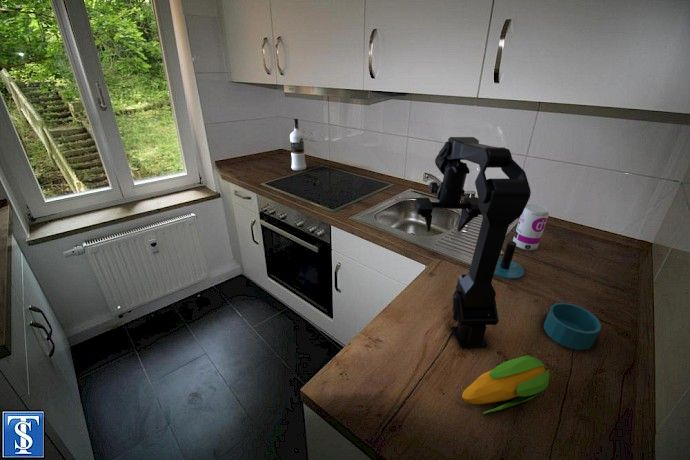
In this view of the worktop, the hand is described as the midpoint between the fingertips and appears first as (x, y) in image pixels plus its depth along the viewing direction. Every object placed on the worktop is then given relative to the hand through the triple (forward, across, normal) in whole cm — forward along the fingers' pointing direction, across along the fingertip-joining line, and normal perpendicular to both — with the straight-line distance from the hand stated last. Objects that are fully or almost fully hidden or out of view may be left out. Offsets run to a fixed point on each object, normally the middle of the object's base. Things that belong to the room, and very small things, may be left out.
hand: (443, 230), depth 94 cm
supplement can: (+16, -37, -14) cm, 42 cm away
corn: (+11, -1, +44) cm, 46 cm away
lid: (+14, -22, +2) cm, 26 cm away
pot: (+12, -25, +28) cm, 40 cm away
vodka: (+24, +56, -108) cm, 124 cm away
